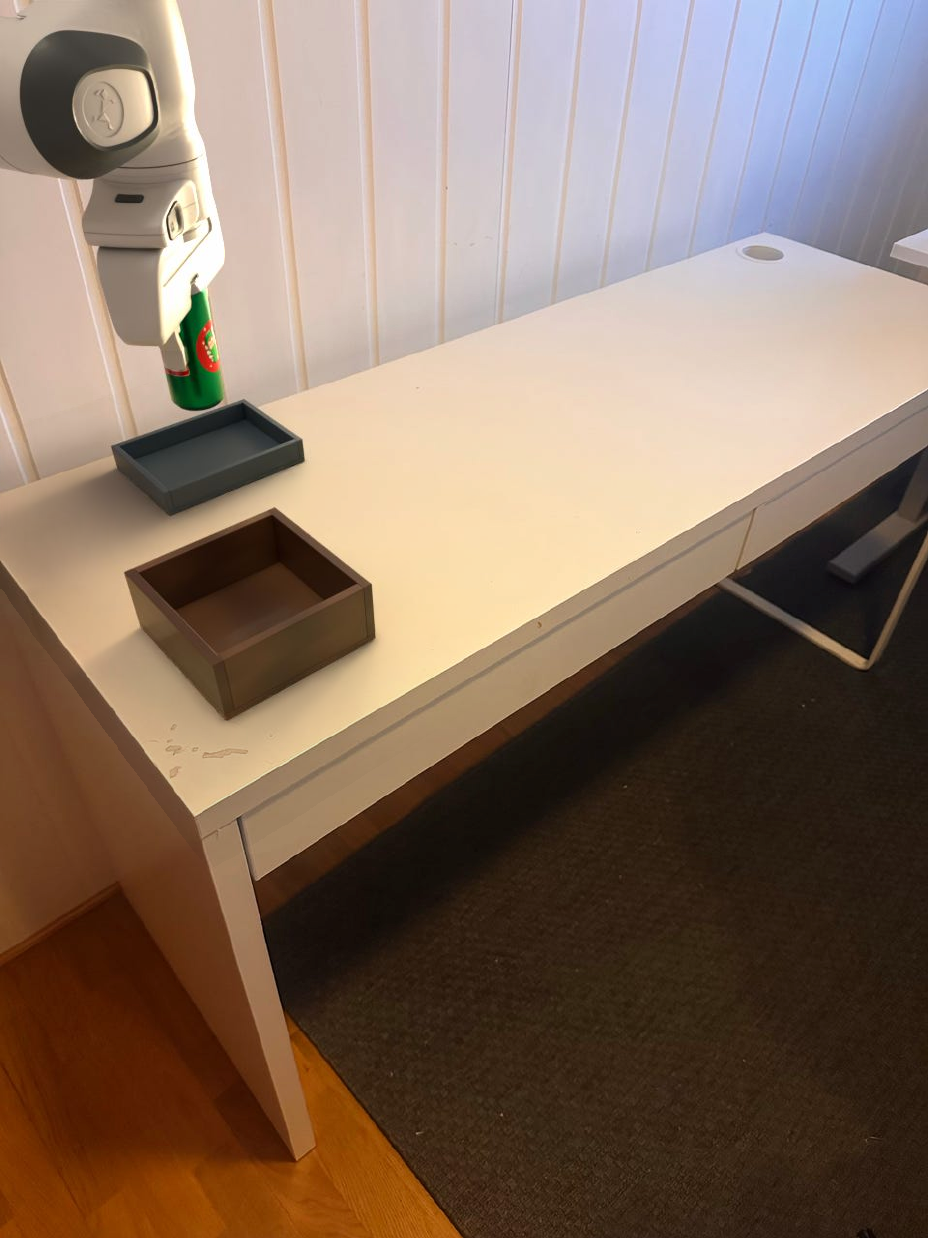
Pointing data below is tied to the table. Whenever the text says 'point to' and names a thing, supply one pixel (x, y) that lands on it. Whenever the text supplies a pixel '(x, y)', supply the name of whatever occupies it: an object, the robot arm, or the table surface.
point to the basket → (252, 609)
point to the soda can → (197, 357)
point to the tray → (207, 455)
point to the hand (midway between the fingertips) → (188, 350)
